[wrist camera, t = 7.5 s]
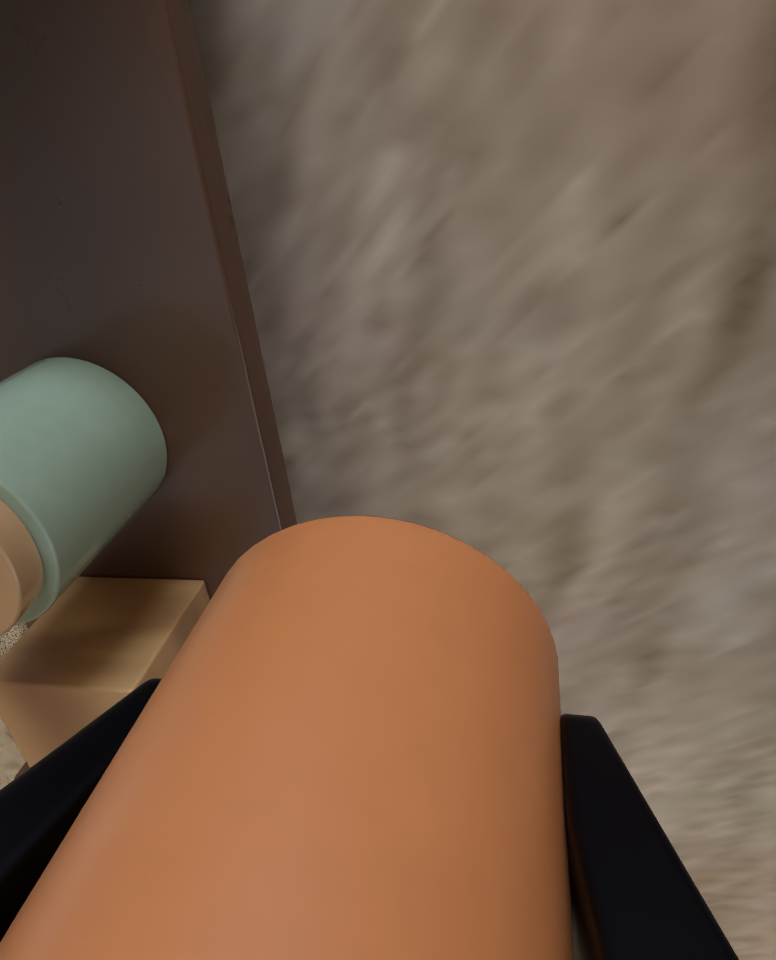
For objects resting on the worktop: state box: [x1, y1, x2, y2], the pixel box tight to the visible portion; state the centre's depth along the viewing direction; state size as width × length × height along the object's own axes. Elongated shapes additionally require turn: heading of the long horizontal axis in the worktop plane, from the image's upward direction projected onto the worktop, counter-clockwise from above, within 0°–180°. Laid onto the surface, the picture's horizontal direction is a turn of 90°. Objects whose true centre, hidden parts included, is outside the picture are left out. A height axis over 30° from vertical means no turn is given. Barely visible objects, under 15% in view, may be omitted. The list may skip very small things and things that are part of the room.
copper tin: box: [0, 516, 574, 960], centre depth 7 cm, size 5×5×6 cm
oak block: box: [0, 577, 210, 768], centre depth 20 cm, size 4×4×4 cm
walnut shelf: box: [0, 0, 297, 780], centre depth 19 cm, size 10×24×7 cm, turn 6°
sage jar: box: [0, 357, 167, 635], centre depth 16 cm, size 5×5×6 cm
